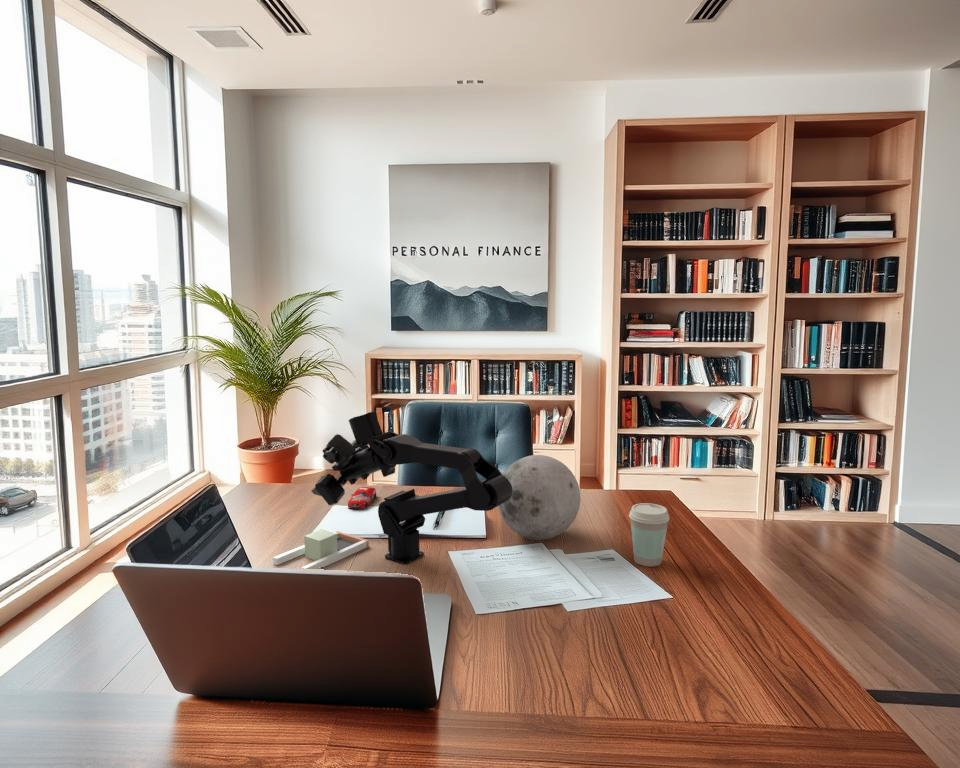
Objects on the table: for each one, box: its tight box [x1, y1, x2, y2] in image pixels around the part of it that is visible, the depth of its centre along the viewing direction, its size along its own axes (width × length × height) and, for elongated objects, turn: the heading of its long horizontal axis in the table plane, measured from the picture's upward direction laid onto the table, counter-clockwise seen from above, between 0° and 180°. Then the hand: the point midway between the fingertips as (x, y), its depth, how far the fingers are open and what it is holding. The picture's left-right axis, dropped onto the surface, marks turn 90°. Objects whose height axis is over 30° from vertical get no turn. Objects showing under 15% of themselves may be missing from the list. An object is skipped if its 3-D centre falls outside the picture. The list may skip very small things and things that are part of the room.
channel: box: [272, 531, 367, 570], centre depth 145 cm, size 10×18×2 cm, turn 145°
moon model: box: [497, 454, 581, 541], centre depth 154 cm, size 20×20×20 cm
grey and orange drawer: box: [335, 531, 370, 551], centre depth 150 cm, size 10×6×2 cm, turn 55°
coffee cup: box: [628, 502, 670, 567], centre depth 140 cm, size 8×8×12 cm
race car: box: [347, 486, 377, 510], centre depth 181 cm, size 13×5×4 cm, turn 170°
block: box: [303, 528, 337, 561], centre depth 144 cm, size 5×5×5 cm
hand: (323, 480), depth 155 cm, fingers open, 9 cm apart
